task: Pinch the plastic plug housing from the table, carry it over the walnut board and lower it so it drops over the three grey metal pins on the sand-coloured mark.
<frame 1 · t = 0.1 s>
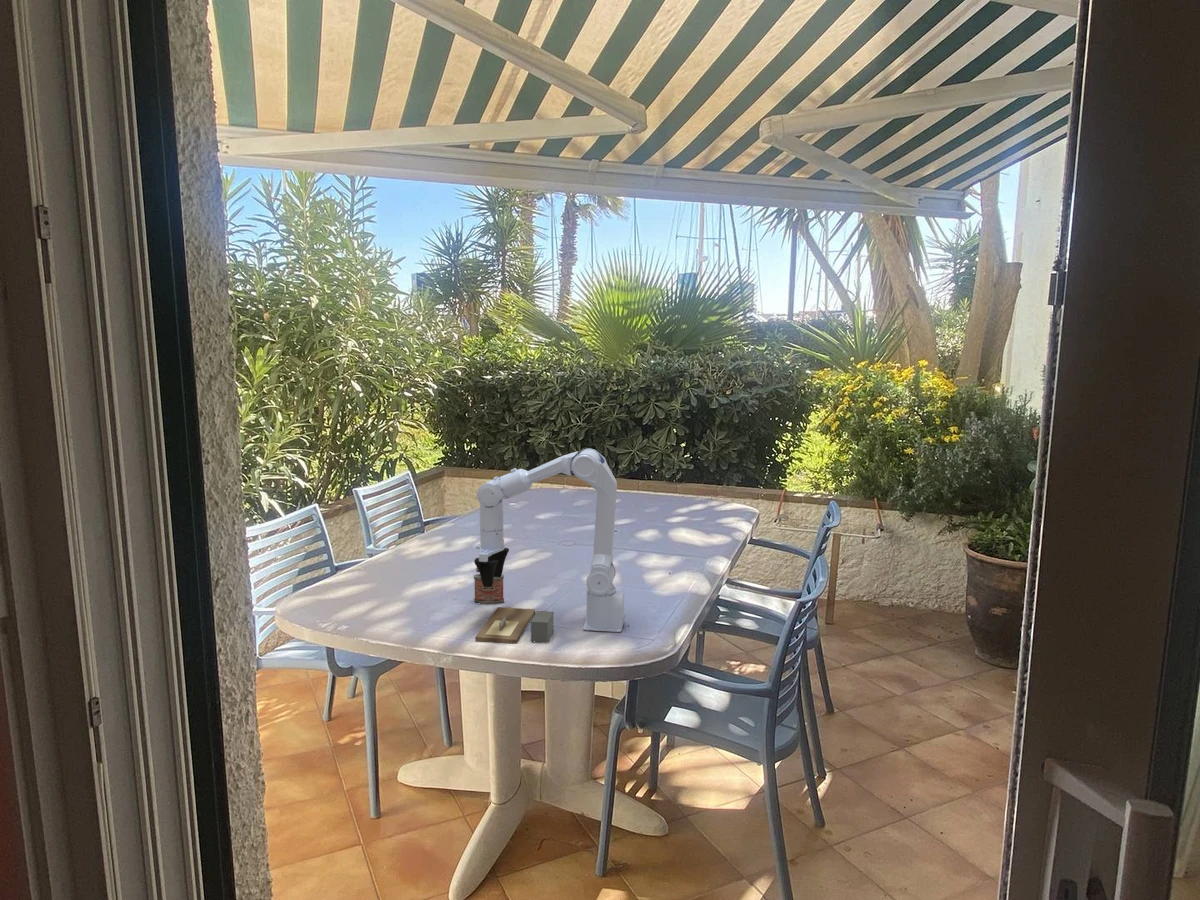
hand: (492, 581, 183), 10 cm above the table, tool pointing down, fingers open, 7 cm apart
pin board: (506, 626, 180), on the table
lighter: (489, 602, 197), on the table
plug housing: (542, 636, 174), on the table
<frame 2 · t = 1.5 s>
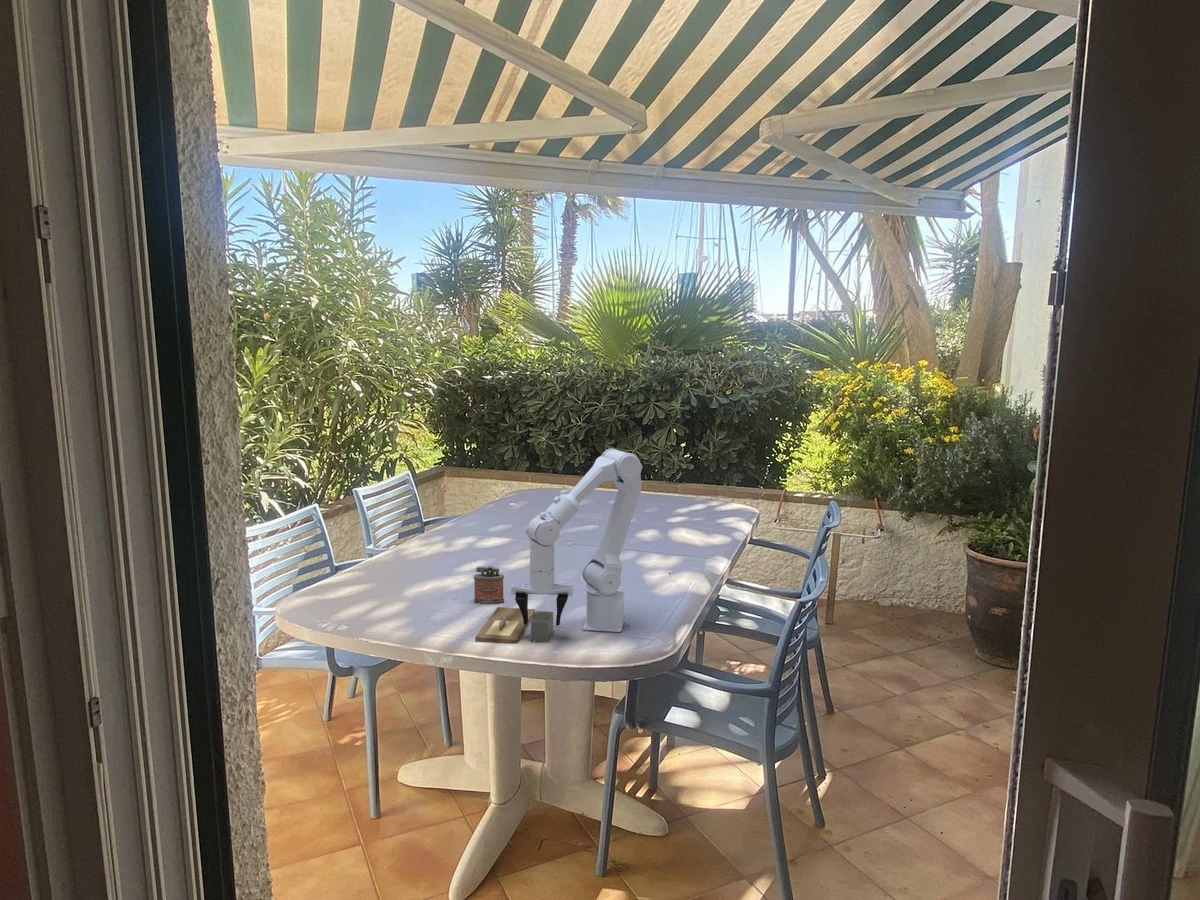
hand: (542, 623, 173), 3 cm above the table, tool pointing down, fingers open, 7 cm apart
nothing on the table moved.
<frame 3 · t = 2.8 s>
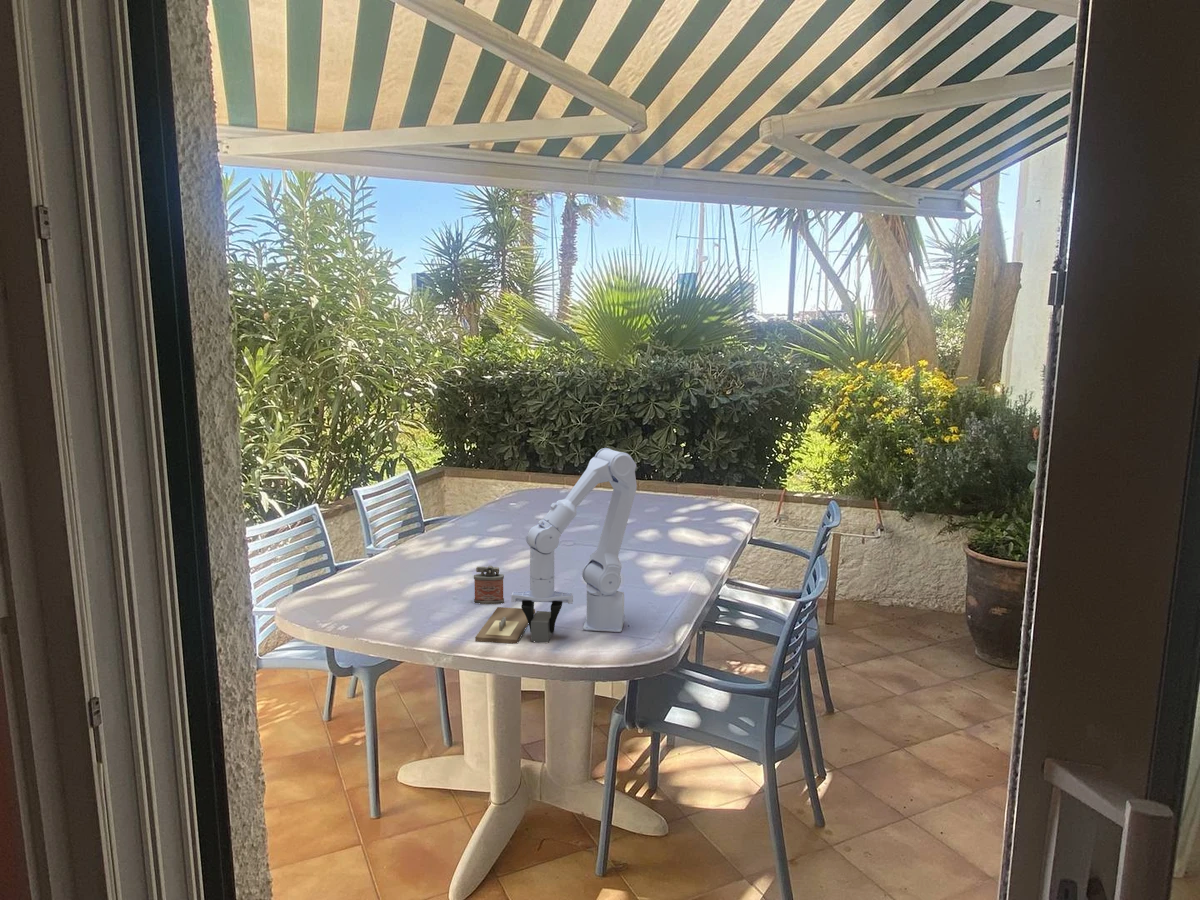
hand: (542, 631, 173), 1 cm above the table, tool pointing down, fingers closed on plug housing, 4 cm apart
plug housing: (542, 636, 174), on the table, touching gripper
everything else where it was.
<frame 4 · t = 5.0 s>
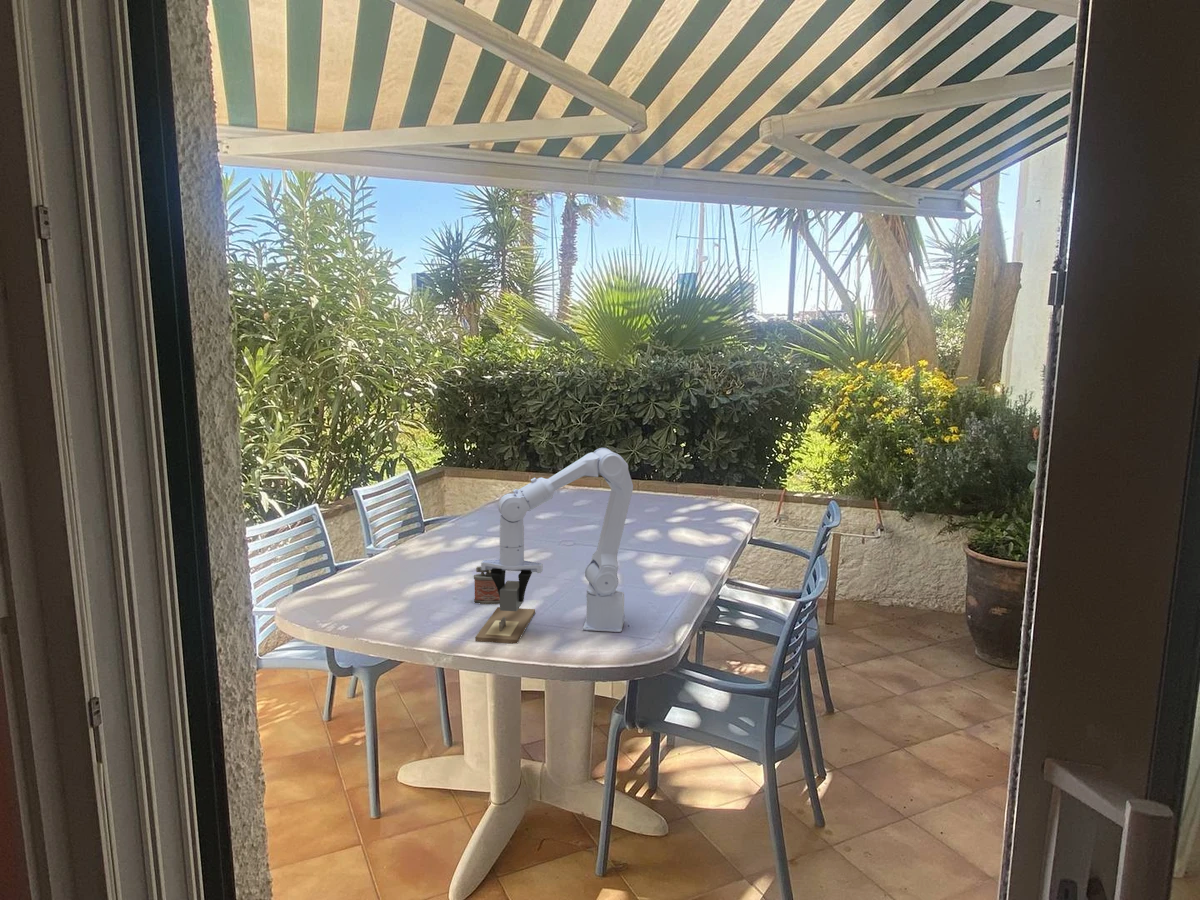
hand: (512, 599, 174), 9 cm above the table, tool pointing down, fingers closed on plug housing, 4 cm apart
plug housing: (512, 605, 174), point 7 cm above the table, touching gripper
everything else where it was.
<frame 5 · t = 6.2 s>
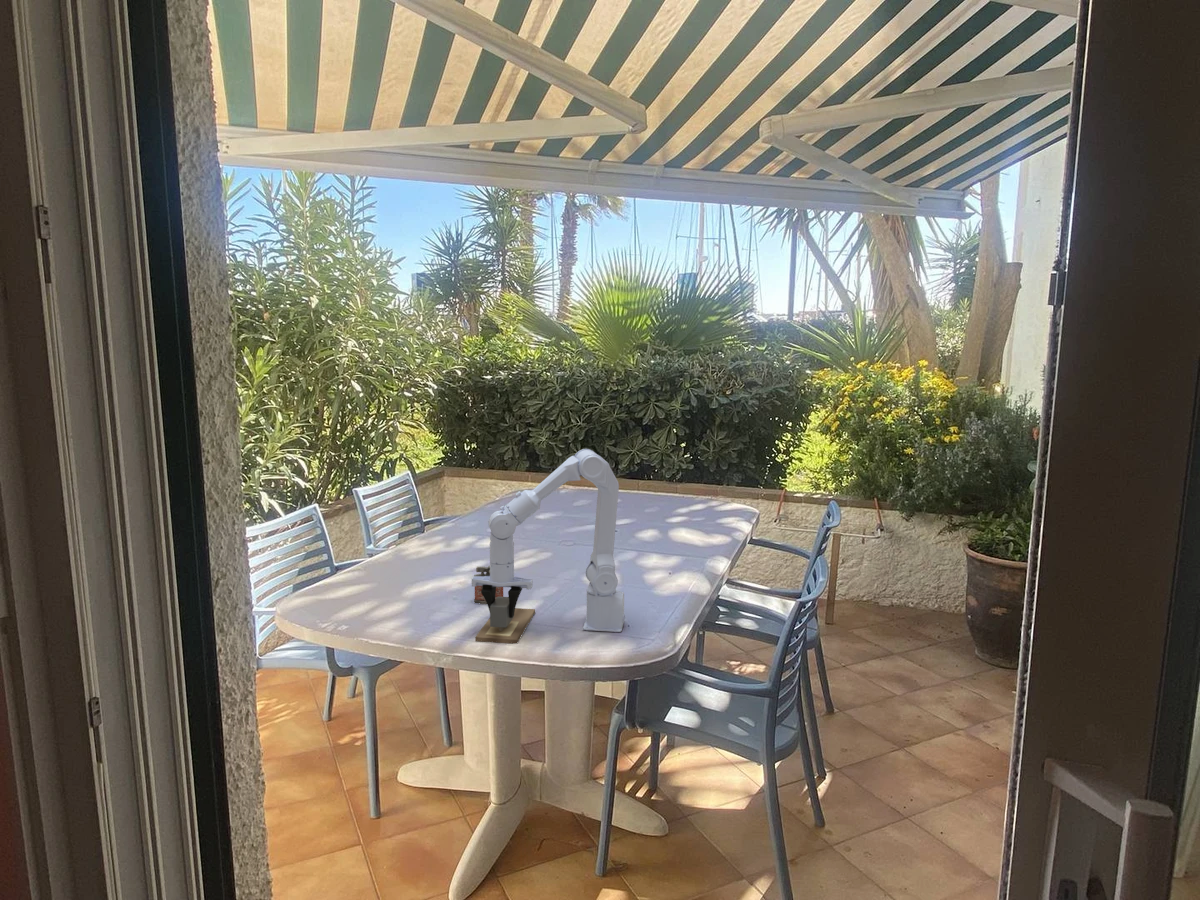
hand: (502, 615, 175), 4 cm above the table, tool pointing down, fingers closed on plug housing, 4 cm apart
plug housing: (502, 621, 175), point 3 cm above the table, touching gripper
everything else where it was.
when the fingers open (4 cm above the table, at t = 7.2 s): plug housing stays where it is, resting on pin board.
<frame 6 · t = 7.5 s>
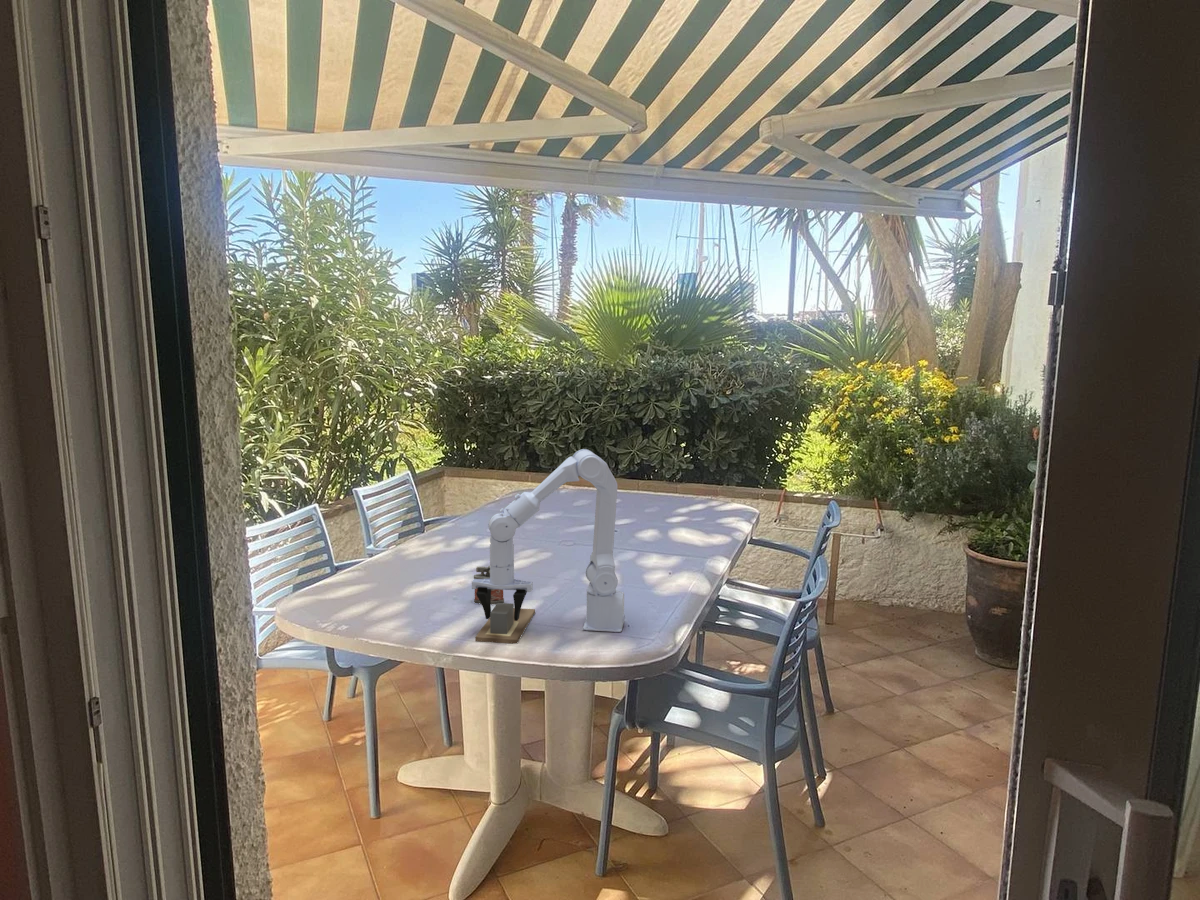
hand: (502, 618, 175), 4 cm above the table, tool pointing down, fingers open, 6 cm apart
plug housing: (502, 628, 176), point 1 cm above the table, touching pin board
everything else where it was.
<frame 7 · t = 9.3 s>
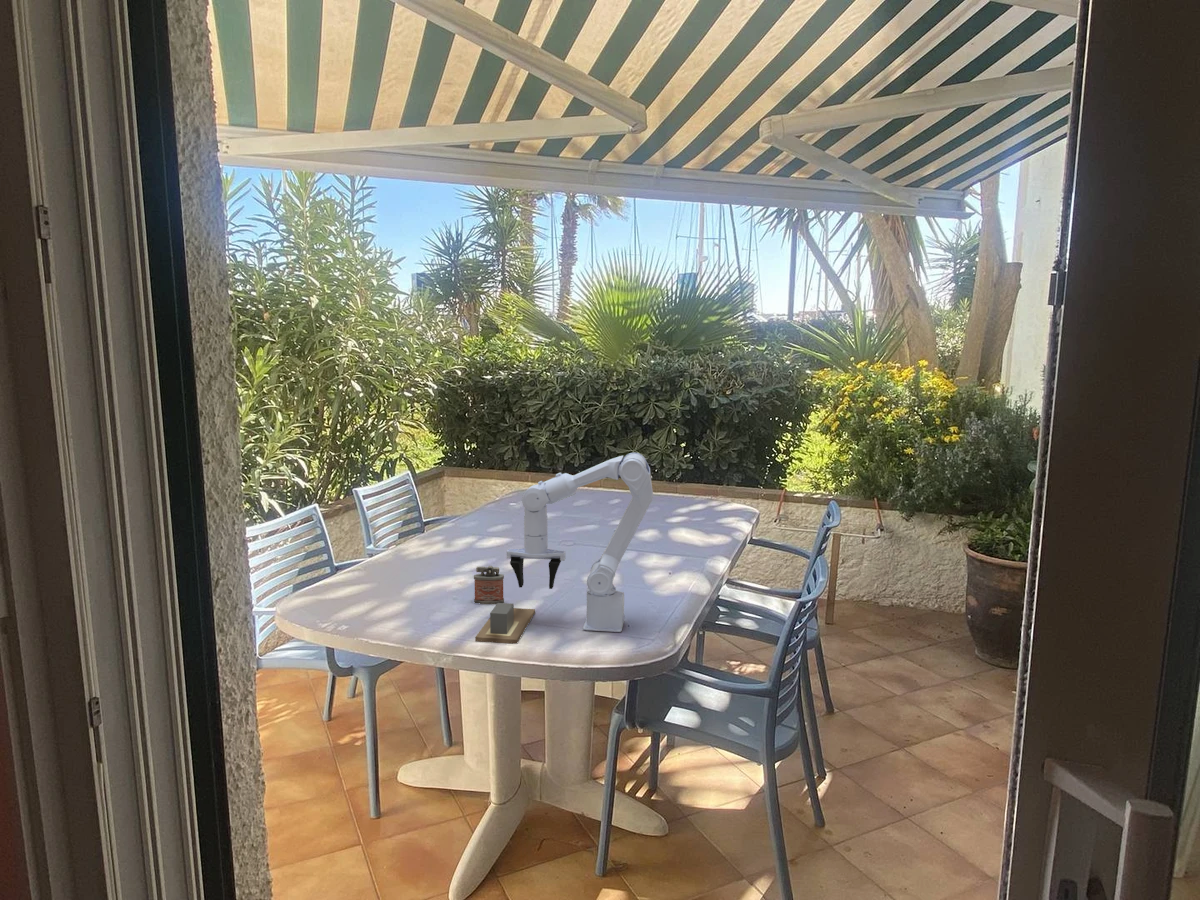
hand: (536, 586, 181), 9 cm above the table, tool pointing down, fingers open, 7 cm apart
nothing on the table moved.
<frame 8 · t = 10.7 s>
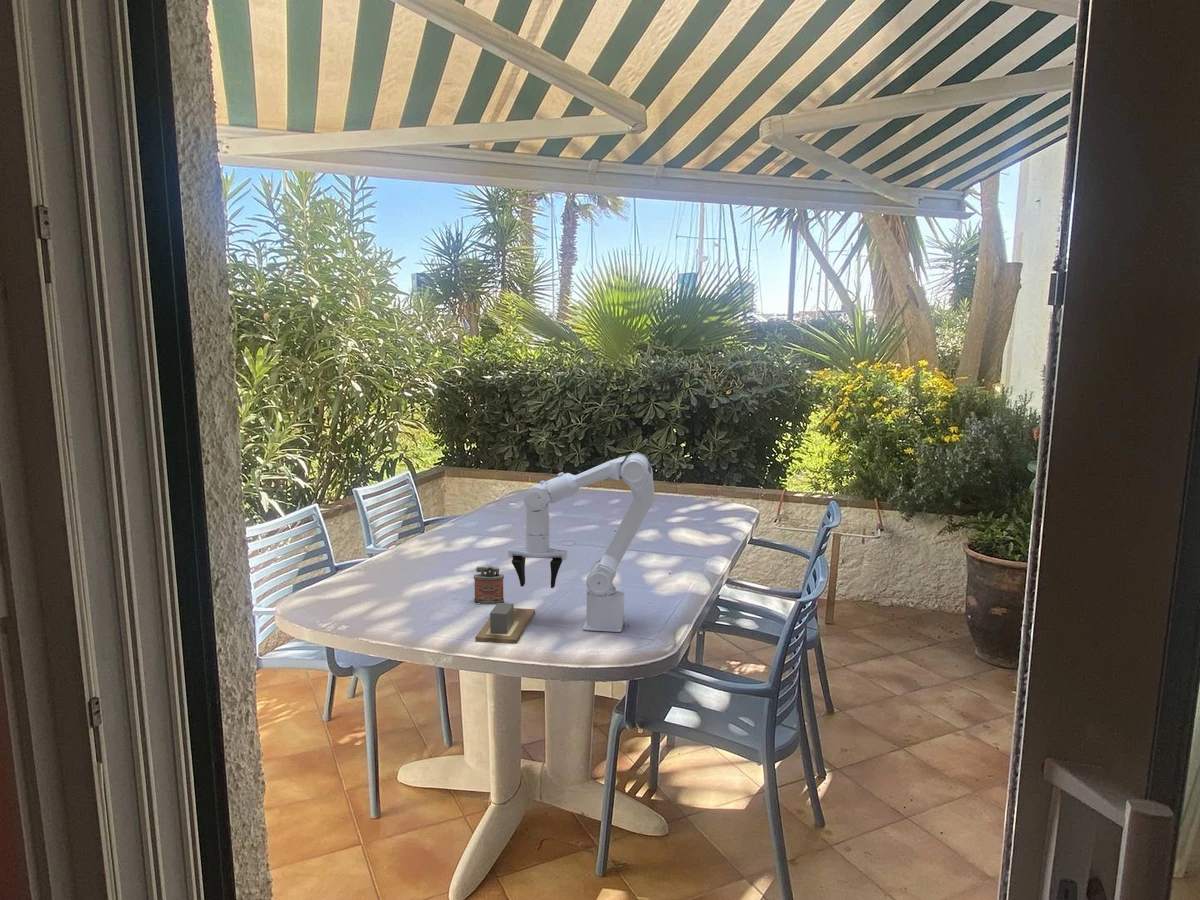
hand: (537, 585, 182), 9 cm above the table, tool pointing down, fingers open, 7 cm apart
nothing on the table moved.
at the end: plug housing 0.2 cm from the target spot, point 1.2 cm above the table; plug housing tilted 0°; the gripper is holding nothing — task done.
